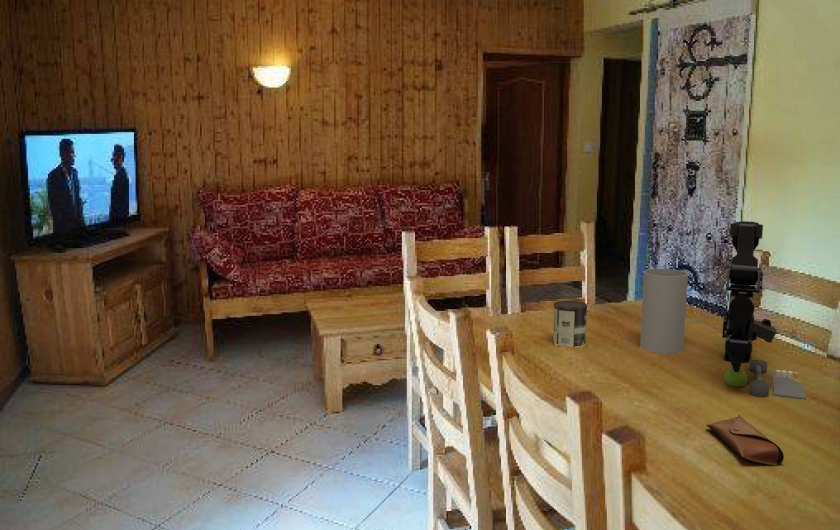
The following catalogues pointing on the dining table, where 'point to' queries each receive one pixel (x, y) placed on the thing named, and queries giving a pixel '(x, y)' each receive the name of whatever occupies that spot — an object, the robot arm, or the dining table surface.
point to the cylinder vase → (663, 310)
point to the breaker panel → (787, 385)
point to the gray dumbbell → (758, 379)
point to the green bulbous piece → (735, 377)
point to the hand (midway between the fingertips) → (736, 368)
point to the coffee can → (570, 323)
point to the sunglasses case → (748, 441)
